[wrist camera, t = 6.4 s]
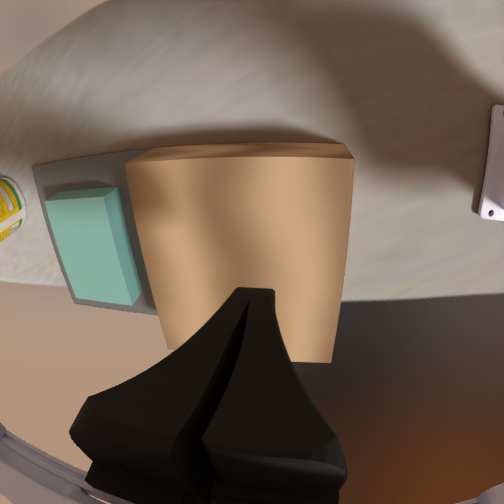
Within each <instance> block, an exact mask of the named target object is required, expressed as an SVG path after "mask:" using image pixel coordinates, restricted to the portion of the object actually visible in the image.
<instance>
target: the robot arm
mask: <svg viewBox="0 0 504 504" xmlns="http://www.w3.org/2000/svg"><path fill="white" fill-rule="evenodd" d="M503 111H504V106H502V105H498V104H496V105H494V106H493V107H492V116H491V129H490V139H489V149H488V157H487V164H486V171H485V177H484V183H483V189H482V194H481V199H480V204H479V209H478V214H479V216H480V217H481V218H483V219H489V220H499V221H504V116H503ZM490 210H491V213H490V214H488V213H489V211H490ZM69 434H70V436H71V439H72V440H73V441H74V443H76V445H77V446H78V447H79V448H80V449H81V450H82V451H83V452H84V453H85V454H86V455H87V456H88V457H89V458H90V459H91V460H92V461H93V462H92V464H91V467H90V469H89V471H88V472H86V471H83V470H81V469H79V468H76V467H74V466H72V465H70V464H68V463H66V462H64V461H61V460H59V459H57V458H55V457H53V456H51V455H49V454H48V453H46V452H44V451H42V450H40V449H38V448H36V447H35V446H33V445H31V444H29V443H27V442H26V441H24V440H22V439H20V438H19V437H17V436H16V435H14V434H12V433H11V432H9V431H7V430H6V428H5V427H4V426H3V425H2V424H1V423H0V494H2V495H3V496H4V497H5V498H7V499H8V500H9V501H10V502H12V503H13V504H105V503H103V502H101V501H99V500H97V499H95V498H93V497H91V496H89V494H90V495H92V496H94V497H96V498H99V499H101V500H104V501H106V502H109V503H111V504H338V502H339V490H340V489H341V487H342V486H343V484H344V483H345V481H346V479H347V465H346V460H345V456H344V453H343V450H342V447H341V444H340V441H339V438H338V436H337V434H336V433H335V431H334V430H333V429H332V428H331V426H330V425H329V424H328V422H327V421H326V420H325V418H324V417H323V416H322V414H321V413H320V411H319V410H318V409H317V407H316V406H315V404H314V403H313V401H312V399H311V398H310V396H309V394H308V393H307V391H306V389H305V388H304V386H303V384H302V382H301V381H300V379H299V377H298V375H297V373H296V371H295V369H294V366H293V364H292V362H291V360H290V357H289V355H288V352H287V350H286V347H285V344H284V341H283V339H282V335H281V332H280V328H279V324H278V321H277V316H276V310H275V291H274V290H273V289H271V288H251V287H237V288H236V289H235V290H234V291H233V292H232V293H231V295H230V296H229V297H228V298H227V300H226V301H225V302H224V303H223V304H222V305H221V307H220V308H219V309H218V310H217V311H216V312H215V313H214V314H213V315H212V317H211V318H210V319H209V320H208V321H207V322H206V323H205V324H204V325H203V326H202V327H201V328H200V329H199V330H198V331H197V332H196V333H195V334H194V335H193V336H191V337H190V338H189V339H188V340H187V341H186V342H185V343H184V344H182V345H181V346H180V347H179V348H178V349H176V350H175V351H174V352H172V353H171V354H170V355H168V356H167V357H166V358H164V359H163V360H161V361H160V362H158V363H157V364H155V365H154V366H152V367H151V368H149V369H147V370H146V371H144V372H142V373H141V374H139V375H137V376H135V377H133V378H131V379H129V380H127V381H125V382H123V383H121V384H119V385H117V386H115V387H112V388H110V389H107V390H105V391H102V392H100V393H98V394H95V395H92V396H89V397H88V398H87V400H86V401H85V403H84V404H83V406H82V408H81V410H80V411H79V413H78V415H77V417H76V419H75V421H74V423H73V424H72V426H71V428H70V430H69ZM456 504H504V483H503V484H500V485H498V486H495V487H493V488H491V489H489V490H487V491H486V492H484V493H482V494H481V495H480V496H479V497H478V498H475V499H471V500H467V501H464V502H460V503H456Z"/></svg>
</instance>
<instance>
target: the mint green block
mask: <svg viewBox="0 0 504 504" xmlns="http://www.w3.org/2000/svg"><path fill="white" fill-rule="evenodd" d="M44 202H45V206H46V210H47V213H48V217H49V220H50V224H51V227H52V231H53V234H54V237H55V240H56V243H57V247H58V250H59V253H60V256H61V259H62V262H63V264H64V267H65V270H66V273H67V276H68V278H69V281H70V284H71V286H72V289H73V291H74V294H75V296H76V298H79V299H86V300H93V301H100V302H108V303H115V304H123V305H131V306H133V304H134V303H135V301H136V300H137V298H138V297H139V295H140V294H141V293H142V291H143V290H142V287H141V283H140V280H139V276H138V272H137V268H136V264H135V261H134V257H133V253H132V248H131V244H130V240H129V236H128V232H127V227H126V223H125V218H124V213H123V209H122V204H121V199H120V194H119V188H118V187H108V188H95V189H84V190H73V191H62V192H58V193H57V194H55V195H54V196H52V197H50V198H49V199H47V200H45V201H44Z"/></svg>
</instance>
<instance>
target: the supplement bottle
mask: <svg viewBox="0 0 504 504" xmlns="http://www.w3.org/2000/svg"><path fill="white" fill-rule="evenodd" d="M25 218H26V205H25V201H24V198H23V196H22V193H21V191H20V189H19V187H18V186H17V185H16V183H15V182H14V181H12V180H11V179H9V178H5V177H3V178H0V242H1V241H3V240H4V239H5V238H6V237H8V236H9V235H11V234H12V233H13V232H15V231H16V230H17V229H19V228H20V227H21V226H22V225H23V223H24V221H25Z"/></svg>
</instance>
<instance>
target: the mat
mask: <svg viewBox="0 0 504 504" xmlns="http://www.w3.org/2000/svg"><path fill="white" fill-rule="evenodd" d="M152 149H154V148H151V149H141V150H132V151H123V152H115V153H107V154H100V155H93V156H87V157H80V158H74V159H68V160H62V161H57V162H51V163H46V164H41V165H36V166H33V167H32V169H33V174H34V178H35V183H36V187H37V191H38V195H39V199H40V203H41V207H42V210H43V214H44V217H45V221H46V224H47V228H48V231H49V234H50V238H51V241H52V244H53V247H54V250H55V253H56V256H57V259H58V262H59V265H60V267H61V270H62V273H63V276H64V278H65V281H66V284H67V286H68V289H69V291H70V294H71V296H72V299H73V301H74V303H75V304H80V305H87V306H93V307H99V308H106V309H113V310H121V311H127V312H135V313H143V314H151V315H158V313H157V309H156V305H155V302H154V298H153V294H152V290H151V287H150V283H149V279H148V275H147V271H146V267H145V263H144V259H143V254H142V250H141V246H140V241H139V237H138V232H137V227H136V223H135V218H134V213H133V208H132V202H131V197H130V192H129V186H128V181H127V175H126V169H125V163H127V162H129V161H131V160H133V159H135V158H136V157H138V156H140V155H142V154H144V153H146V152H148V151H150V150H152ZM108 187H118V188H119V194H120V199H121V204H122V209H123V213H124V218H125V223H126V227H127V232H128V236H129V240H130V244H131V248H132V253H133V257H134V261H135V264H136V268H137V272H138V276H139V280H140V283H141V287H142V290H143V291H142V293H141V294H140V295H139V297H138V298H137V300H136V301H135V303H134V304H133V306H131V305H123V304H115V303H108V302H100V301H93V300H86V299H79V298H76V296H75V294H74V291H73V289H72V286H71V284H70V281H69V278H68V276H67V273H66V270H65V267H64V264H63V262H62V259H61V256H60V253H59V250H58V247H57V243H56V240H55V237H54V234H53V231H52V227H51V224H50V220H49V217H48V213H47V210H46V206H45V202H44V201H45V200H47V199H49V198H50V197H52V196H54V195H55V194H57V193H58V192H62V191H73V190H84V189H95V188H108Z"/></svg>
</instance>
